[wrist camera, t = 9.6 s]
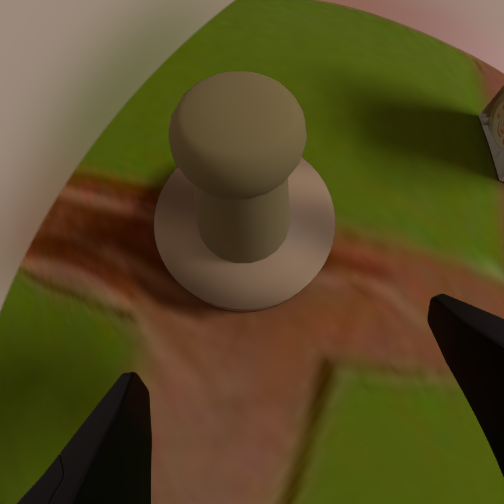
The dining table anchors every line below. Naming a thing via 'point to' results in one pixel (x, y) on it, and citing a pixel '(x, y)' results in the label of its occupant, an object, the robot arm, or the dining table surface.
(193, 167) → the cork
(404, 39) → the dining table surface
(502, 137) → the coffee box
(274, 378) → the dining table surface
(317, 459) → the dining table surface
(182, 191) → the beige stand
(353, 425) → the dining table surface
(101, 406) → the robot arm
